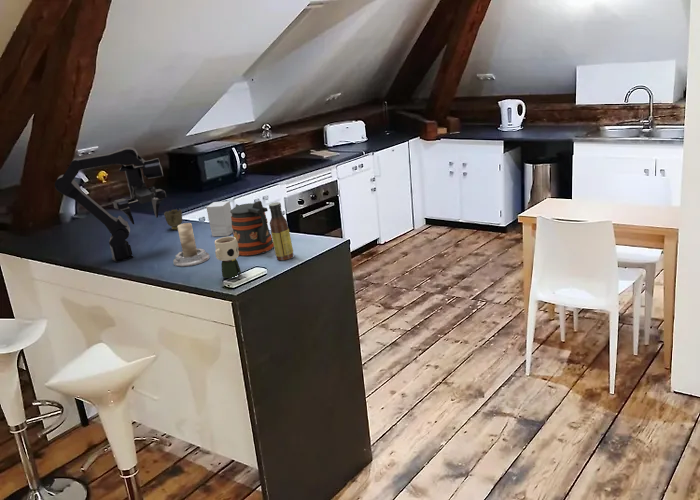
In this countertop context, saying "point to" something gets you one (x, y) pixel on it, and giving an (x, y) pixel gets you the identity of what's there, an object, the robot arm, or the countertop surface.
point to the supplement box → (220, 218)
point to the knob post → (187, 239)
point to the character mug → (228, 256)
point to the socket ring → (191, 259)
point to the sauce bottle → (280, 233)
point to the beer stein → (251, 229)
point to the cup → (174, 218)
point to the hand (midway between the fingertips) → (145, 220)
